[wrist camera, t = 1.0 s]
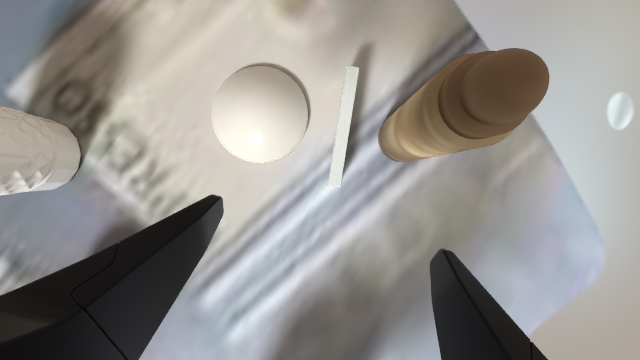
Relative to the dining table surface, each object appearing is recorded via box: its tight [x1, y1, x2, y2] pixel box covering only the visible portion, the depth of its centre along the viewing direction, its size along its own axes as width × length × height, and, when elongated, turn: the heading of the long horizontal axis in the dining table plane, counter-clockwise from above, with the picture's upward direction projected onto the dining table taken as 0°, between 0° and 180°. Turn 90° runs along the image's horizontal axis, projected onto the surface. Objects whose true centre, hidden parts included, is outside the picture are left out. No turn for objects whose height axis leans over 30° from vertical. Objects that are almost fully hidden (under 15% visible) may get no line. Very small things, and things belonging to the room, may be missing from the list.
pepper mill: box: [378, 48, 549, 162], centre depth 16 cm, size 5×5×14 cm
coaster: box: [212, 66, 308, 163], centre depth 23 cm, size 9×9×1 cm
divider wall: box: [328, 66, 359, 188], centre depth 21 cm, size 10×1×3 cm, turn 171°
